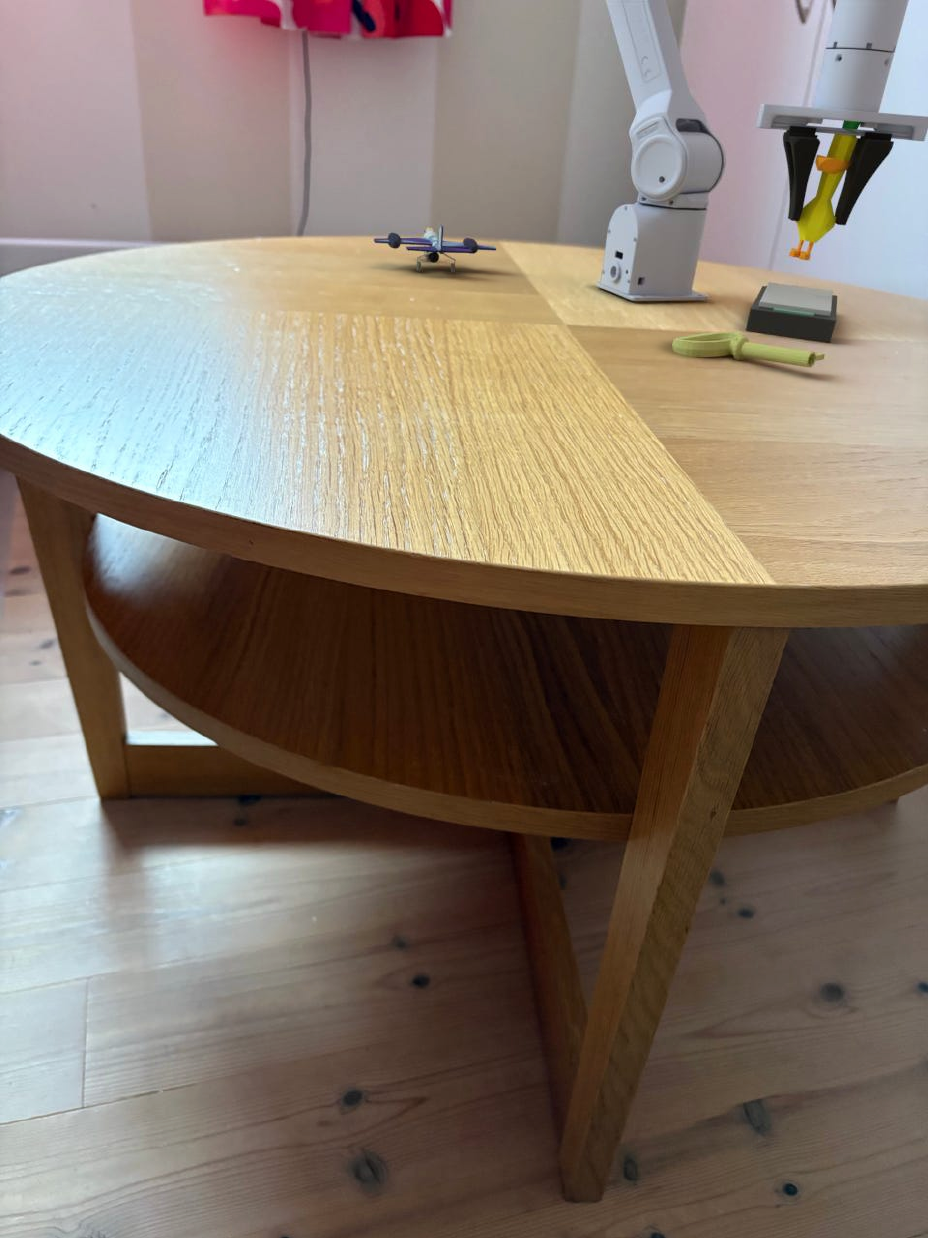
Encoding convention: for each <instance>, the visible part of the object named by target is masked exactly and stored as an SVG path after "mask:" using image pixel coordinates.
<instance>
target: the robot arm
mask: <svg viewBox="0 0 928 1238" xmlns="http://www.w3.org/2000/svg"><path fill="white" fill-rule="evenodd" d="M605 4H606V6H607V10H608V13H609V17H610V21H611V25H612V28H613V31H614V35H615V39H616V42H617V47H618V50H619V54H620V57H621V60H622V65H623V68H624V71H625V75H626V79H627V83H628V86H629V89H630V93H631V97H632V100H633V104H634V107H635V112H636V114H635V116H634V119H633V121H632V124H631V126H630V128H629V131H628V135H629V138H630V142H631V147H632V158H631V163H630V174H631V179H632V183H633V185H634V187H635V189H636V191H637V192H638V195H637V201H636V202H635V203H627V204H623V205H620V206H619V207H617V208H616V209H615V210H614V212H613V214H612V216H611V218H610V220H609V223H608V227H607V234H606V240H605V247H604V255H603V262H602V267H601V268H602V269H601V276H600V281H596V287H597V288H600V289H602V290H605V291H607V292H609V293H611V294H614V295H617V296H619V297H621V298H624V299H627V300H629V301H632V302H675V301H677V302H679V301H680V302H681V301H682V302H683V301H688V302H689V301H708V300H709V295H707V294H704V293H702V292H700V291H699V292H698V291H696V290H694V289H693V287H694V281H695V276H696V273H697V272H696V271H697V267H698V262H699V256H700V251H701V246H702V240H703V236H704V229H705V225H706V220H707V214H708V207H709V204H710V200H709V195H710V193H712V192H713V191H714V190H715V189H716V188H717V187H718V185H719V184H720V182H721V181H722V179H723V177H724V173H725V171H726V165H727V155H726V151H725V147H724V145H723V143H722V141H721V140H720V139H719V138H718V137H717V135H716V134H714V133H713V130H712V129H711V128H710V126H709V123H708V119H707V115H706V113H705V111H704V110H703V108H702V107H701V106H700V104H699V103H698V101H697V100H696V99H695V98H694V96H693V94H692V93H691V91H690V88H689V84H688V80H687V77H686V73H685V68H684V64H683V61H682V57H681V54H680V53H681V52H680V49H679V46H678V42H677V38H676V34H675V31H674V27H673V22H672V18H671V15H670V12H669V7H668V4H667V0H605ZM908 4H909V0H836V2H835V6H834V10H833V15H832V19H831V23H830V27H829V31H828V36H827V41H826V44H825V49H824V53H823V57H822V61H821V65H820V69H819V74H818V78H817V82H816V87H815V91H814V95H813V100H812V103H811V106H797V105H785V104H771V103H761V104H760V105H759V111H758V115H757V120H756V124H755V128H756V129H766V130H780V131H781V130H782V131H784V132H783V134H782V145H783V148H784V149H783V150H784V153H785V159H786V165H787V173H788V184H789V185H788V187H789V201H788V202H789V203H788V204H789V205H788V214H787V219H788V220H790V221H792V222H796V221H799V220H800V217H801V214H802V210H803V207H804V206H805V205H804V204H805V199H806V194H807V190H808V184H809V180H810V177H811V173H812V171H813V166H814V163H815V161H816V157H817V155H818V154H817V153H818V150H819V148H820V144H821V140H820V139H819V138H818V136H819V135H818V134H819V133H820V134H830V135H831V134H832V135H834V134H842V135H855V136H856V137H857V142H856V145H855V147H854V150H853V153H852V155H851V158H850V161H849V162H851V164H850V166H849V168H848V169H847V170H846V171H845V174H844V175H845V176H844V180H843V184H842V187H841V192H840V194H839V197H838V201H837V203H836V207H835V211H834V216H835V217H836V223H835V225H838V226H846V225H847V222H848V220H849V218H850V215H851V213H852V211H853V209H854V207H855V206H856V203H857V201H858V199H859V198H860V196H861V194H862V192H863V191H864V189H865V187H866V186H867V184H869V182H870V180H871V178H872V177H873V176H874V174H875V173H876V171H877V170H878V169H879V167H880V166H881V165H882V163H884V161H885V160H886V159H887V157H888V156H889V155H890V153H891V151H892V150H893V147H894V144H895V140H905V141H915V142H925V140H926V136H927V135H928V134H927V133H928V116H923V115H913V114H912V115H911V114H901V113H900V114H899V113H888V112H880V108H881V105H882V102H883V101H882V100H883V97H884V93H885V91H886V90H885V89H886V86H887V82H888V78H889V75H890V71H891V67H892V64H893V60H894V56H895V53H896V50H897V45H898V42H899V38H900V34H901V32H902V31H901V30H902V27H903V23H904V19H905V16H906V12H907V7H908ZM824 120H830V121H843V122H844V121H855V122H861V124H860V125H859V127H860V128H866V129H859V128H858V129H848V130H851V131H855V132H857V133H858V134H857V133H853V132H851V131H847V130H845V128H842V127H832V126H818V125H822V124H823V122H824ZM808 124H815V125H808ZM868 129H869V130H868ZM870 129H872V130H870ZM816 133H818V134H816ZM892 139H893V140H894V139H895V140H894V141H893V140H892Z"/></svg>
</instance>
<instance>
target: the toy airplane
mask: <svg viewBox="0 0 928 1238" xmlns="http://www.w3.org/2000/svg"><path fill="white" fill-rule="evenodd" d="M423 232H424V234H423V237H401V236H400V234H398V233H396V232H390V233H388V236H387V237H385V238H384V237H383V238H380V237H375V238H373V242H374V243H375V244H388V245H387V246H389V247H390V248H391V249H394V250H395V249H396V250H397V249H399V248H400V247H401V245H408V246H405V249H406V250H407V251H413V252H423V254H422V255H420V256H417V257H416V267H415V268H416V271H417V272H418V273H420V272H421V270H422V262H421V261H419V259H422V258H425V260H426V261H427V262H428V261H429V262H430V263H434V264H435V263H438V261H439V260H440V255H443V256H445V257H447V258H448V259H450V260H453V262H452V263H450V269H449V270H450V273H451V274H455V272H456V258H454V257H452V256H450V255H448V254H474V255H475V254H476V253H478V251H497V247H496V246H495V245H488V244H487V245H486V244H478V242H477V241H476V240H475V239H474V238H471V237H470V238H469V237H465V238H464V239H463V240H462V242H458V241H451V240H444V226H443V225H442V224H440V225H439V230H438V234H437V232H435V231H434V228H433V227H430V226H429V227H427V228H426V231H425V230H423ZM410 245H411V246H410Z"/></svg>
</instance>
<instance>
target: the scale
mask: <svg viewBox="0 0 928 1238" xmlns="http://www.w3.org/2000/svg"><path fill="white" fill-rule="evenodd" d="M833 292H834V290H831V289H823V288H817V287H816V288H815V287H808V286H802V285H801V286H800V285H793V284H785V283H777V282H770V281H769V282H768V283H767V286H766V285H762V286H761V288H760V290H759V291H758V294H757V295H756V298H755V300H754V301H753V303H752V304H751V307H750V309H749V314H748V319H747V323H746V327H745V331H746V332H753V333H760V334H767V335H774V336H780V337H787V338H796V339H802V340H808V341H815V342H822V343H831V341H832V337H833V334H834V331H835V327H836V323H837V313H838V312H837V311H838V295H835V294H833Z"/></svg>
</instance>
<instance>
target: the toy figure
mask: <svg viewBox="0 0 928 1238" xmlns="http://www.w3.org/2000/svg"><path fill="white" fill-rule="evenodd" d="M860 124H861V122H855V121H843V122H842V127H841V128H845V130H847V131H851V130H848V129H858V130H859V127H860ZM851 132H853V133H857V132H855V131H851ZM857 134H858V133H857ZM857 138H858V136H855V135H842V134H833V137H832V141H831V143H830V146H829V148H828V151H827V154H826V156H825V155H820V154H816V157H815V160H814V163H815V167H816V170H817V171H819V172H821V174H820V178H819V181H818V187H817V190H816V194H815V197H813V198H812V199H811V200H809V202H808V203H806V204H805V205H804V206H803V210H802V214H801V217H800V220H799V221H795V223H796V225H797V231H798V237H799V242H798V245H797V248H793V247H792V248H791V249H790V252H789V254H788V256H789V257H793V258H797V259H799V260H802V261H810V260H811V254H812V253H811V252H812V249H813V246H814V245H815V244H816V243H818V242H819V241H820V240H821V239H822V238H824V236H825V235H827V234H828V233H829V232H830V231H831V230H833V228H834V227H835V225H836V217H835V211H834V207H833V203H832V199H833V197H834V195H835V193H836V191H837V189H838V187H839V185H840V183H841V181H842V179H843V177H844V175H845V174H846V170H847V169H848V168H849V166H850V164H851V162H849V161H850V158H851V155H852V153H853V150H854V147H855V145H856V142H857ZM805 242H809V244H808V247H807V249H806V251H803V250H802V248H803V246H804V243H805Z"/></svg>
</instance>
